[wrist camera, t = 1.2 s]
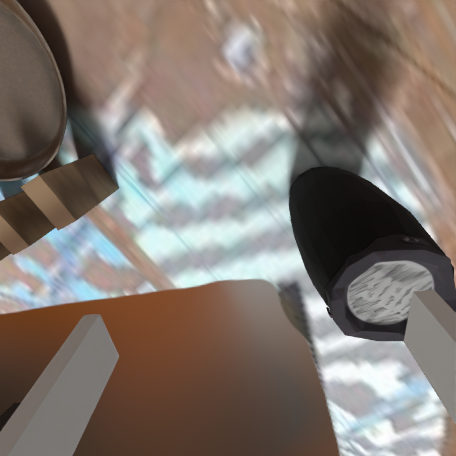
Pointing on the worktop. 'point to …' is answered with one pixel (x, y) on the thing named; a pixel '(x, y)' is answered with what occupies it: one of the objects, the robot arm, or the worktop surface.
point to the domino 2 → (70, 190)
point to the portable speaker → (364, 253)
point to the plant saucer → (27, 96)
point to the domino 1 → (21, 222)
